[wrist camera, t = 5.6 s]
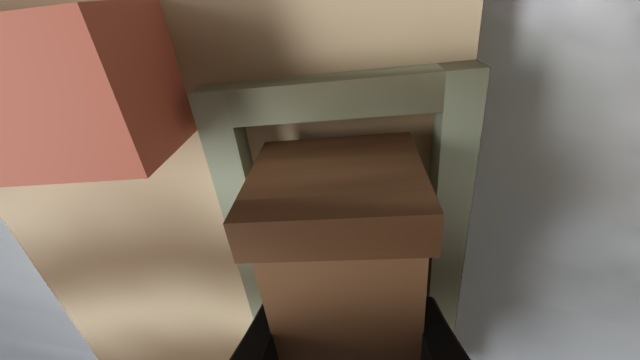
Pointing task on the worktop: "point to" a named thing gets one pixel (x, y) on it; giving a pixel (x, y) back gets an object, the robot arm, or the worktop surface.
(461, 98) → the jig
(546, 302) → the worktop surface
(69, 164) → the pink rectangular block
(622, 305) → the worktop surface
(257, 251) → the brown u-shaped block
